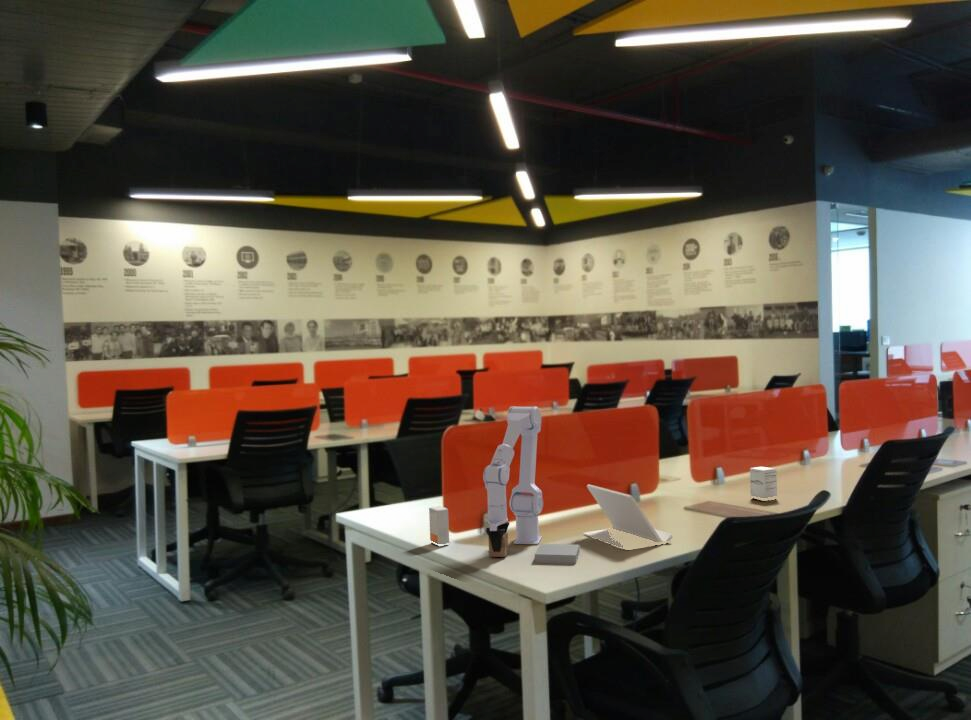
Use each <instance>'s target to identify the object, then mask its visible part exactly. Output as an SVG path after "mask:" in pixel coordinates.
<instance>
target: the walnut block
mask: <svg viewBox="0 0 971 720" xmlns="http://www.w3.org/2000/svg"><path fill="white" fill-rule="evenodd" d="M508 553H509V532H506V533H504V534H503V537H502V545H501V551H500V552H493V549H492V545H491V541H490V538H489V537H488V557H492V558H493V557H494V558H496V557H497V558H498V557H500V558H503V557H504V558H505V557H506V556H507V555H508Z"/></svg>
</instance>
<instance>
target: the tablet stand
mask: <svg viewBox="0 0 971 720" xmlns="http://www.w3.org/2000/svg"><path fill="white" fill-rule="evenodd" d="M586 488H587V489H588V492H590V494H591V495H592V497H593V498H594V500H595V501H596V503H597V504H598V505H599V507H600V509H601V511H603V513H604V515H605V516H606V517H607V519H608V520H609V522H610V523H611V525H612V527H611V528H613V529H616V530H619V531H623V532H626V533H630V534H633V535H636V536H639V537H642V538H645V539H649V540H652V541H654V542H658V543H659V542H662V540H663V541H669V542H670V541H671V540H672V539H673V536H672V533H670V532H669V533H668V532H665V531H663V530H660V529H656V528H654V527H653V524H651V522H650V521H649V519H648V517H647V515H645V513H644V511H643V510H642V508H641V507H640V506H639V504H638V502H637V501H636V499H635V497H634V496H632V495H631V494H628V493H624V492H619V491H617V490H612V489H609V488H605V487H601V486H597V485H592V484H589V483H588V484H587V485H586ZM604 529H605V530H604ZM604 529H600V530H593V531H586V532H585V531H584V532H583V534H585V535H588V536H591V537H594V538H597V539H600V540H602V541H605V542H608V543H610V544H613V545H616V546H618V547H622V548H623V545H622V546H621V544H620V542H619V543H618V541H616V542H615V540H613V539H614V538H613V539H612V538H610V537H611V536H610V535H609V532H608V530H607V531H606V529H607V528H604ZM610 534H611V533H610ZM585 535H584V536H585ZM611 535H612V534H611ZM588 536H587V537H588ZM612 540H613V541H612Z"/></svg>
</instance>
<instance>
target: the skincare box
mask: <svg viewBox="0 0 971 720" xmlns="http://www.w3.org/2000/svg"><path fill="white" fill-rule="evenodd" d="M428 511H429V512H428V514H429V515H428V516H429V541H430V540H431V541H433V542H435V543H437V544H446V543H449V544H450V529H449V528H450V527H449V526H450V524H449V523H450V522H449V509H448V508H446V507H445V506H440V505H438V506H430V507H428Z"/></svg>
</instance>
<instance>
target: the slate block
mask: <svg viewBox="0 0 971 720" xmlns="http://www.w3.org/2000/svg"><path fill="white" fill-rule="evenodd" d="M580 549H581V548H580V544H567V543H566V544H564V543H563V544H560V543H559V544H557V543H556V544H555V543H553V544H552V543H539V546H538V548H537V550H536V551H535V553H534V563H535V564H561V565H564V564H565V565H577V562H578V559H579V557H578V556H580V554H579V553H581V551H580ZM573 563H574V564H573Z"/></svg>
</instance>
